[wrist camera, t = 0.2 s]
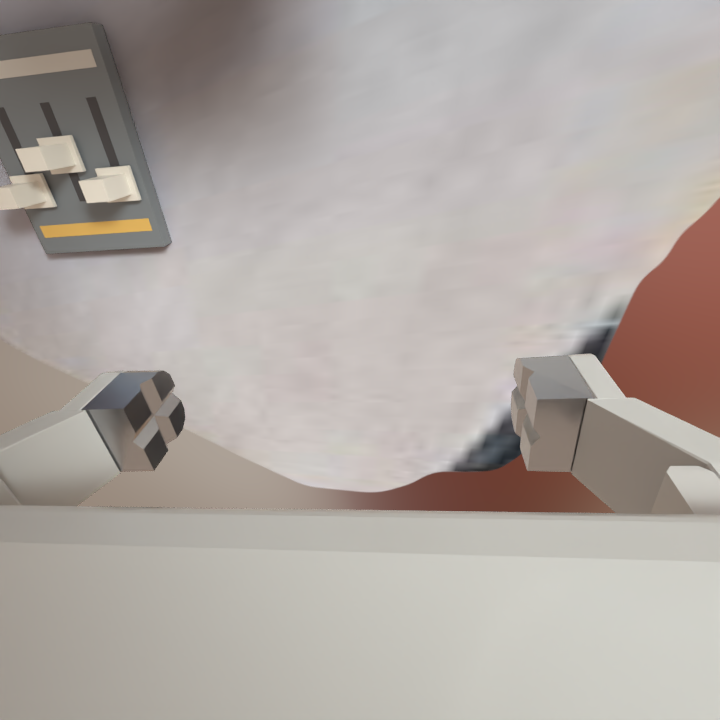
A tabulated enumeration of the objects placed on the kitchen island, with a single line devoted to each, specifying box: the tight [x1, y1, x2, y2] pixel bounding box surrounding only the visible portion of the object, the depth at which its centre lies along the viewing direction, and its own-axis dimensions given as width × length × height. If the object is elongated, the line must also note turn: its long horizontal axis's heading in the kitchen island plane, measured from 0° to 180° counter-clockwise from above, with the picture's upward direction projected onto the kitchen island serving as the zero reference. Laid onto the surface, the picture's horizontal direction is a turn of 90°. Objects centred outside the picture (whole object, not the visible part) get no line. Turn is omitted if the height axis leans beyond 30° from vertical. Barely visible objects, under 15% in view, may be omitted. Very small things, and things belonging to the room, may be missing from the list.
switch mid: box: [15, 135, 86, 174], centre depth 50 cm, size 4×4×5 cm
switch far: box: [0, 173, 57, 210], centre depth 52 cm, size 4×4×5 cm
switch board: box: [0, 22, 172, 254], centre depth 53 cm, size 24×18×2 cm
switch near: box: [78, 165, 142, 203], centre depth 51 cm, size 4×4×5 cm
